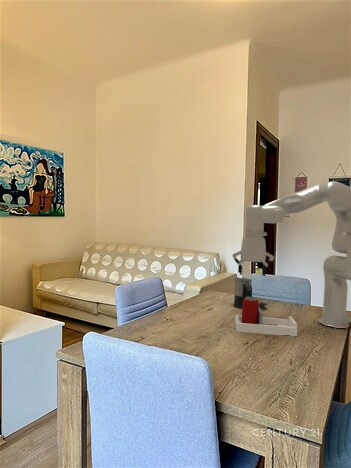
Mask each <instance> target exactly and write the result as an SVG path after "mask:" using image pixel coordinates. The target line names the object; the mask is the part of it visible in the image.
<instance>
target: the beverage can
mask: <svg viewBox="0 0 351 468" xmlns="http://www.w3.org/2000/svg"><path fill="white" fill-rule="evenodd" d="M259 303H260V302H259V300H258V298H257V297H254V296H252V297H245V299H244V300H243V306H242V308H241V309H242V310H241V311H242V312H241V316H242V323H247V324H258V313H259V308H260V306H259Z"/></svg>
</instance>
